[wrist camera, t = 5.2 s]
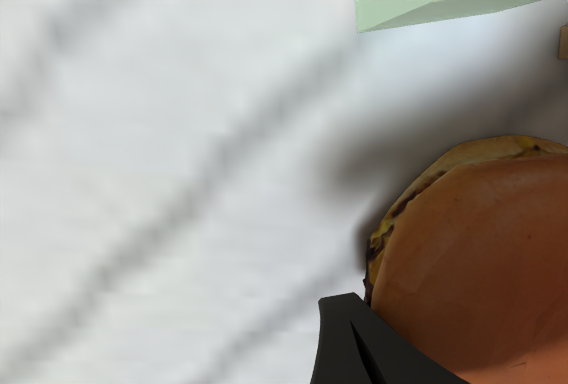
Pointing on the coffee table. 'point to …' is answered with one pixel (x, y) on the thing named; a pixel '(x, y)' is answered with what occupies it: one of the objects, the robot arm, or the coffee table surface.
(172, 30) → the coffee table surface
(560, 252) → the burger
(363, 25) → the pale green cube
